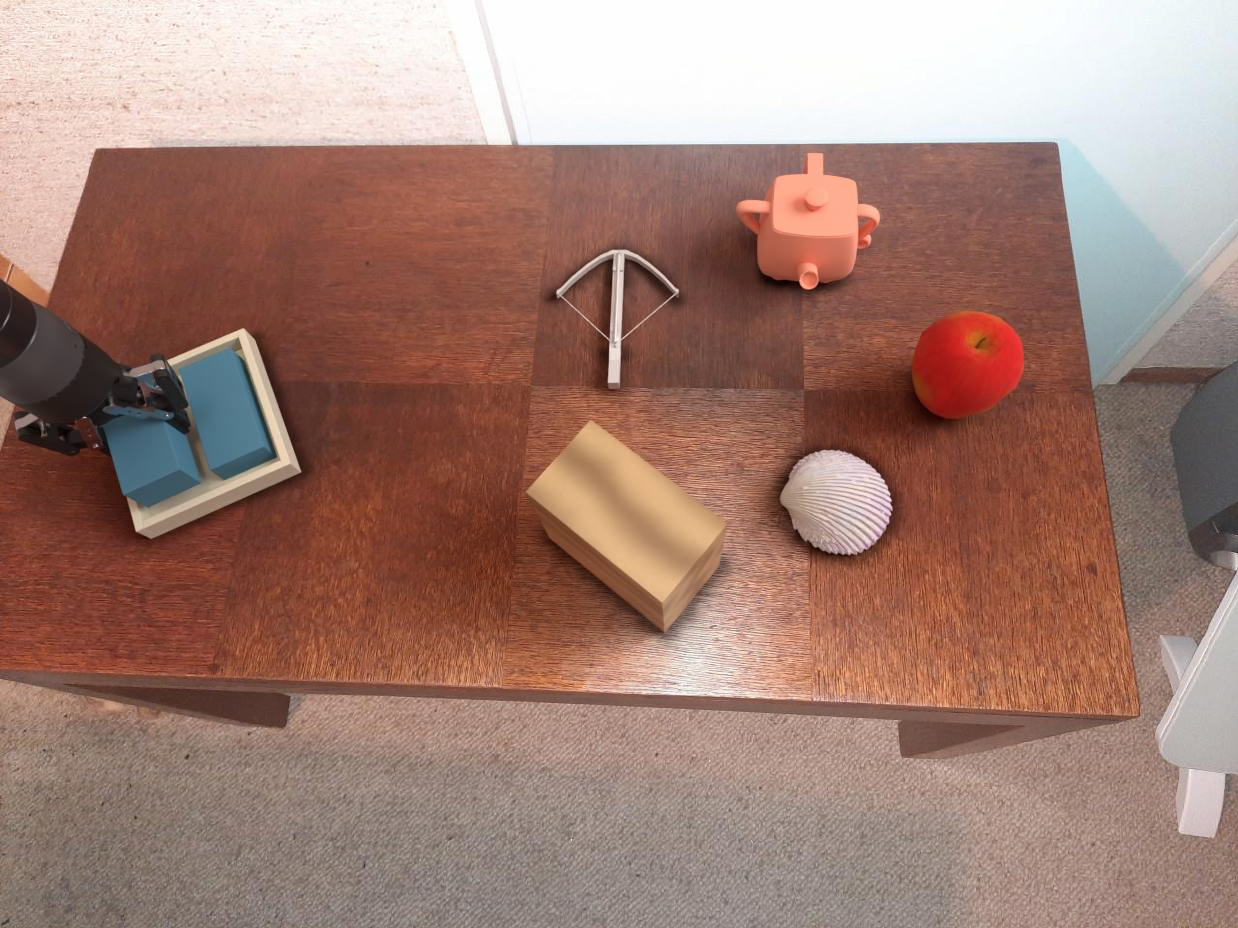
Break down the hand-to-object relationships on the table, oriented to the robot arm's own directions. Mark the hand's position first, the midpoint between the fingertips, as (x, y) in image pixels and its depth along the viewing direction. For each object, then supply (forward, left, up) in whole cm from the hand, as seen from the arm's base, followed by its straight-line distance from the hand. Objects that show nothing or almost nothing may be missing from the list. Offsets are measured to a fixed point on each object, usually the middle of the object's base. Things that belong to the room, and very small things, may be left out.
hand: (155, 438), depth 84 cm
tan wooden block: (+37, -30, -3) cm, 48 cm away
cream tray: (+3, 0, -3) cm, 5 cm away
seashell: (+56, -34, -3) cm, 66 cm away
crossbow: (+46, -7, -3) cm, 47 cm away
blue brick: (+7, 0, -2) cm, 7 cm away
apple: (+71, -29, -3) cm, 77 cm away
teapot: (+66, -9, -3) cm, 67 cm away
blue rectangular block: (0, -1, 0) cm, 1 cm away
